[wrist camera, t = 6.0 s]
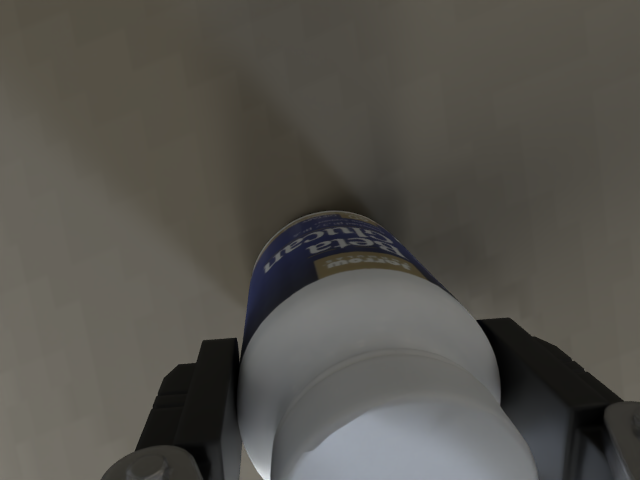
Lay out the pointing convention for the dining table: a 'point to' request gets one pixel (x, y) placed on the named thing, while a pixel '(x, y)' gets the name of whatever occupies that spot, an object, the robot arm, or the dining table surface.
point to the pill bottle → (366, 365)
